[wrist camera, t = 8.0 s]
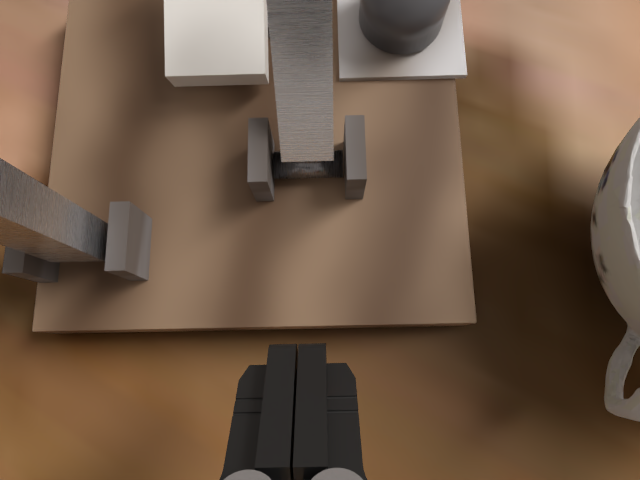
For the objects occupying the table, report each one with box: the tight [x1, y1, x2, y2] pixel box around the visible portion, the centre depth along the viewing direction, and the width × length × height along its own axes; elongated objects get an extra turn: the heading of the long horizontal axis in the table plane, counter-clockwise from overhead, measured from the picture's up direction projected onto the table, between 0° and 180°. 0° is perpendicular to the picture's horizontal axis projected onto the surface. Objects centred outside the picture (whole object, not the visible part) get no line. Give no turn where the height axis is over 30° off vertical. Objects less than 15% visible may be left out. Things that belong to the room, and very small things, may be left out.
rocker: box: [164, 0, 269, 87], centre depth 23 cm, size 4×6×1 cm
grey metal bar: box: [0, 158, 108, 262], centre depth 16 cm, size 3×3×12 cm
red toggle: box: [266, 0, 343, 179], centre depth 18 cm, size 3×3×12 cm
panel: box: [2, 0, 477, 334], centre depth 23 cm, size 20×18×5 cm
